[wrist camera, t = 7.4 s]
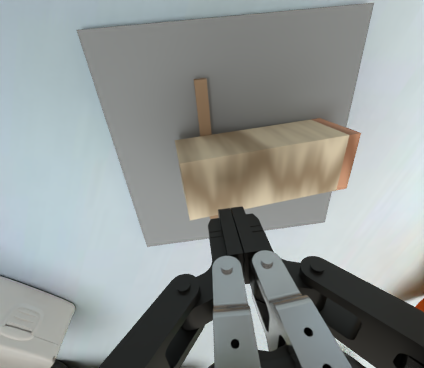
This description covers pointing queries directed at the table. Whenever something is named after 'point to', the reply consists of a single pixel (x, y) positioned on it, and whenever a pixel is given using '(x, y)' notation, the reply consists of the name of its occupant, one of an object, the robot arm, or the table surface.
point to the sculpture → (420, 305)
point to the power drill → (31, 325)
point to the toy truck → (58, 365)
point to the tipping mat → (219, 97)
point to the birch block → (264, 165)
